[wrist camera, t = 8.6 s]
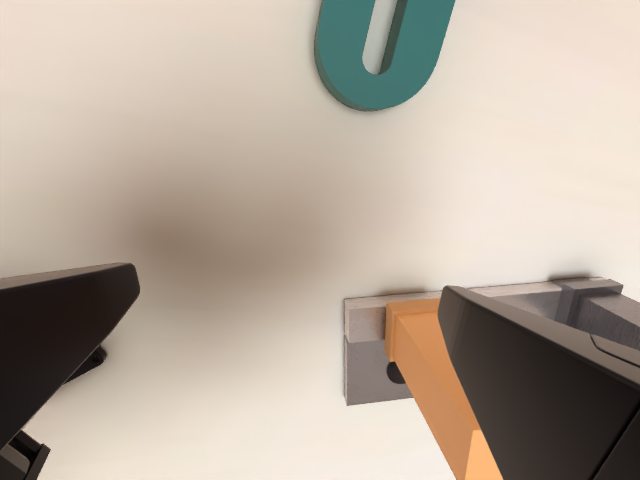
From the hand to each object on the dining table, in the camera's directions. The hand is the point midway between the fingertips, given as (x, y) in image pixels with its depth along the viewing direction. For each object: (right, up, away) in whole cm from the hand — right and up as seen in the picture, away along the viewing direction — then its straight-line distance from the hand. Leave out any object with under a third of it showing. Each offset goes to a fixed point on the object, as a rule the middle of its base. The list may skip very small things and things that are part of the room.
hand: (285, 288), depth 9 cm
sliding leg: (+8, -5, +14) cm, 17 cm away
